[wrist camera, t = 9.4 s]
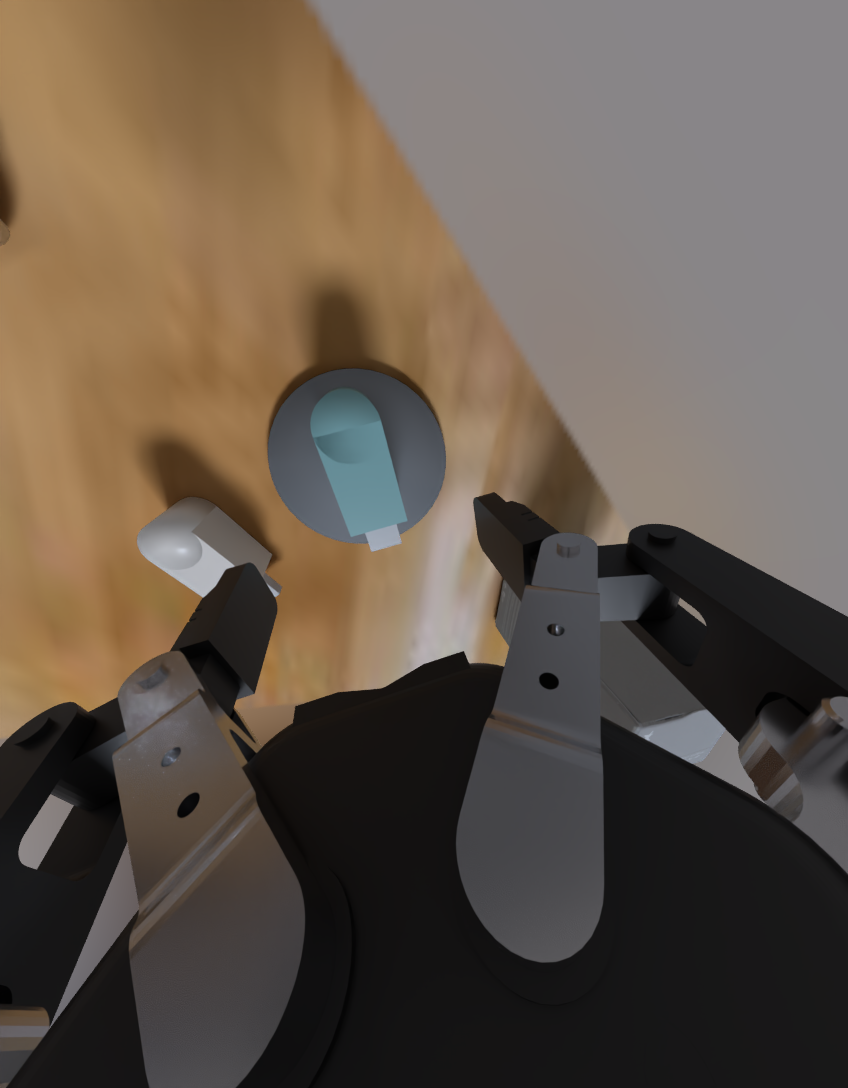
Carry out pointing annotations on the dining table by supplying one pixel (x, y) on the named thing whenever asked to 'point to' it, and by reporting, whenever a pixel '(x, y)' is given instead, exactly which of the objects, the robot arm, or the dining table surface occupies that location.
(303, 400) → the slate coaster
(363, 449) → the teal plug
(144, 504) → the dining table surface
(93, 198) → the dining table surface
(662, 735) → the skincare box
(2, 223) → the chrome faucet
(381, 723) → the robot arm
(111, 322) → the dining table surface
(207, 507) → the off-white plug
